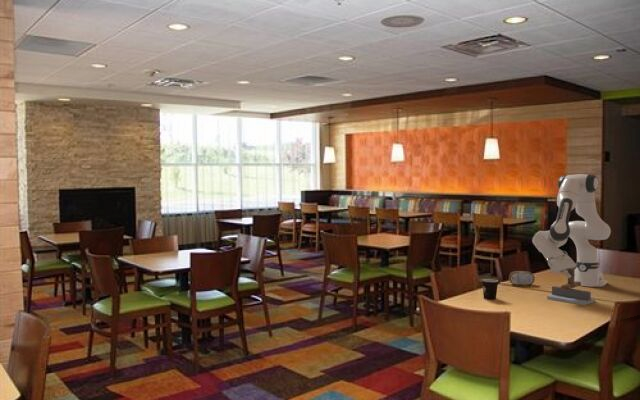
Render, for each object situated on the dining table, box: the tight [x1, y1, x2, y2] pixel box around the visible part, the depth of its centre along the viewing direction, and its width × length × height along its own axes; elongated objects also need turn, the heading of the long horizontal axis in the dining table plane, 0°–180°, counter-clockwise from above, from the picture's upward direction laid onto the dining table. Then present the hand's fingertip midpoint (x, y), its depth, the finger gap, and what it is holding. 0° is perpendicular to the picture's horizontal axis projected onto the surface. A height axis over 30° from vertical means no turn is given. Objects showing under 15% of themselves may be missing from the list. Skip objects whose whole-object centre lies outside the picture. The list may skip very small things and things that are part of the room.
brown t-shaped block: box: [560, 268, 582, 290], centre depth 287 cm, size 18×2×10 cm, turn 130°
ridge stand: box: [546, 285, 596, 306], centre depth 288 cm, size 13×20×6 cm, turn 40°
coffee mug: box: [481, 278, 499, 301], centre depth 294 cm, size 12×9×10 cm
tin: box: [508, 270, 535, 286], centre depth 328 cm, size 15×3×8 cm, turn 84°
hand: (572, 276), depth 287 cm, fingers closed on brown t-shaped block, 2 cm apart
